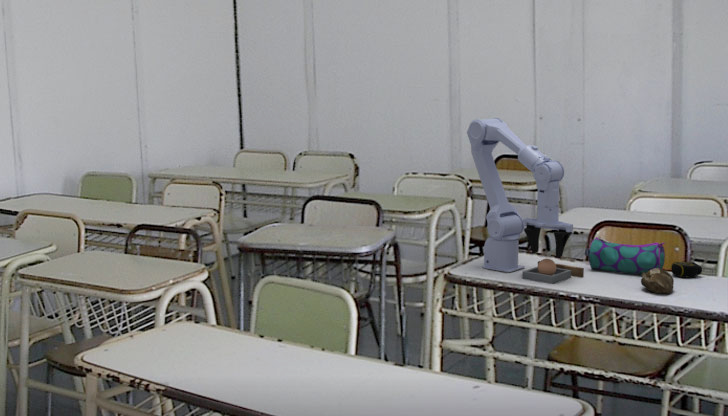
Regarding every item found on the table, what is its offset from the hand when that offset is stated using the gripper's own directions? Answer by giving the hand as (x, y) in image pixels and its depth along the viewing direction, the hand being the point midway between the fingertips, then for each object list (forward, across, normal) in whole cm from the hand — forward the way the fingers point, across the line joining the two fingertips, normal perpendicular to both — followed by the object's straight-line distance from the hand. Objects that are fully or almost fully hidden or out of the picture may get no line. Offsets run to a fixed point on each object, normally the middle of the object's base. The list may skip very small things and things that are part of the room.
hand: (546, 254), depth 230 cm
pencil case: (+7, +13, +20) cm, 25 cm away
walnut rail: (+7, 0, +7) cm, 10 cm away
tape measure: (+7, +28, +27) cm, 39 cm away
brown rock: (+7, +29, +6) cm, 30 cm away
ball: (+4, 0, 0) cm, 4 cm away
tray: (+7, 0, 0) cm, 7 cm away
